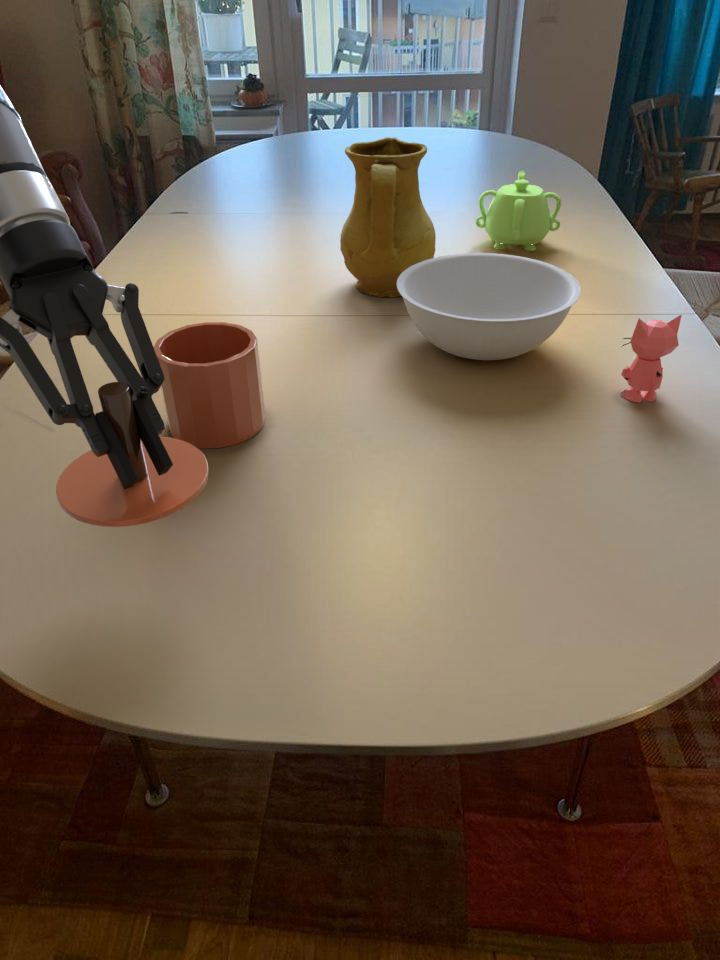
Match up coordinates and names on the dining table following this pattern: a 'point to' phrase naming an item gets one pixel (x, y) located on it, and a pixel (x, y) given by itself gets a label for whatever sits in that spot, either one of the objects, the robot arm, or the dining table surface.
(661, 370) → the cat figurine
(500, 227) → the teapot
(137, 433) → the lid
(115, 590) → the dining table surface
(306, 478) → the dining table surface
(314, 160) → the dining table surface
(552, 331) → the bowl
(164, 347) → the jar
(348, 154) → the pitcher
